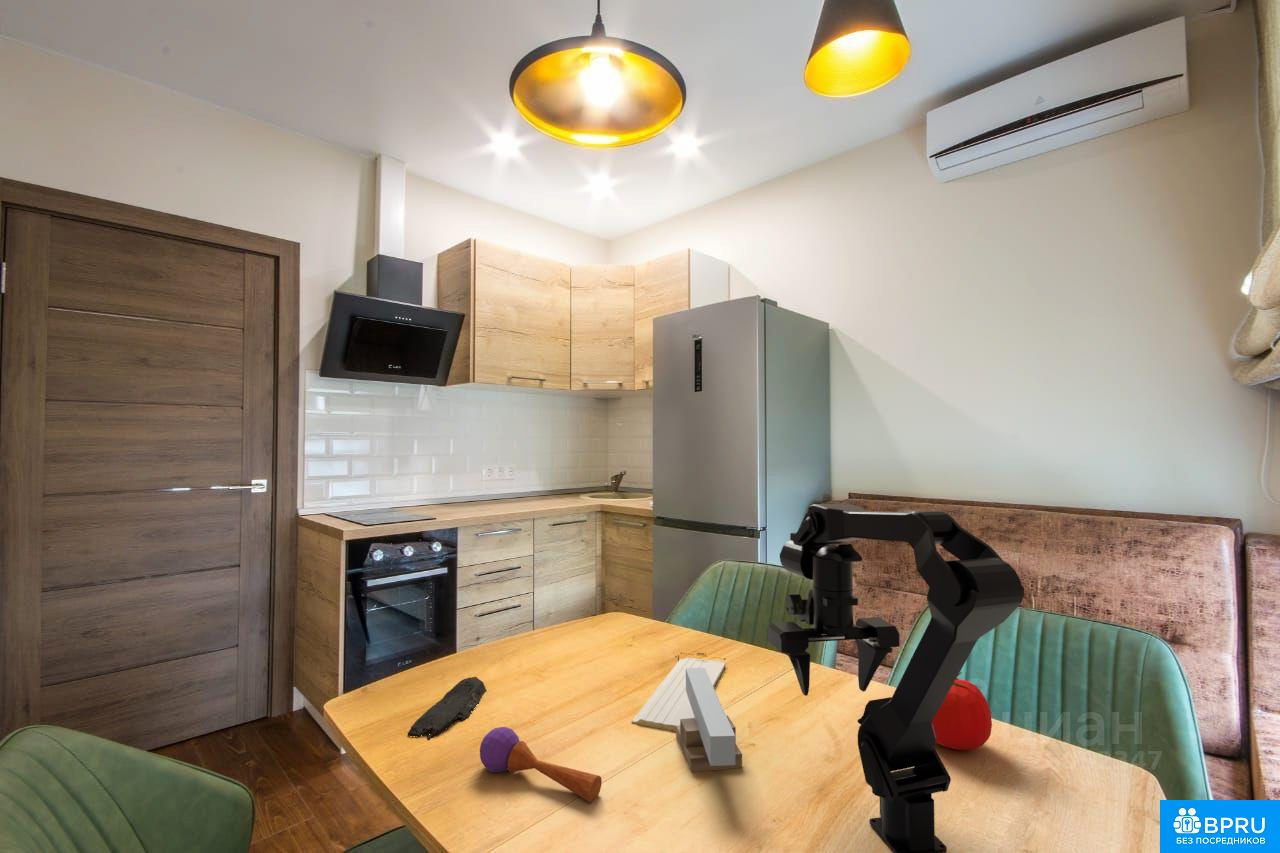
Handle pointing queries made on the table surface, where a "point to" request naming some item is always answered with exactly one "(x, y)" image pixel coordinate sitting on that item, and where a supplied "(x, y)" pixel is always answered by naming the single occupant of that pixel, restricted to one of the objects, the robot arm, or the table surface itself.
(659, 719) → the baseboard molding
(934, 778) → the robot arm
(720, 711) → the slate stick
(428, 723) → the wood
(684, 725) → the ridge block
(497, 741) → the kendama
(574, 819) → the table surface
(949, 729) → the tomato
